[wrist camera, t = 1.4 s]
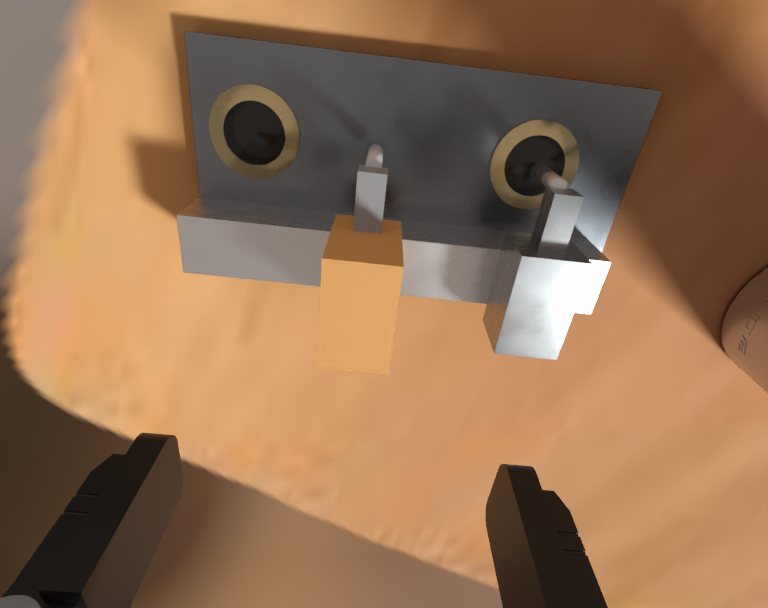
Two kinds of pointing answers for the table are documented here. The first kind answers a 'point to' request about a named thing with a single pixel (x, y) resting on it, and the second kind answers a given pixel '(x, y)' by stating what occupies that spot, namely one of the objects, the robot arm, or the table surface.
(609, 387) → the table surface
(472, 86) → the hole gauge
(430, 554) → the table surface
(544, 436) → the table surface
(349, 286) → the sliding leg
